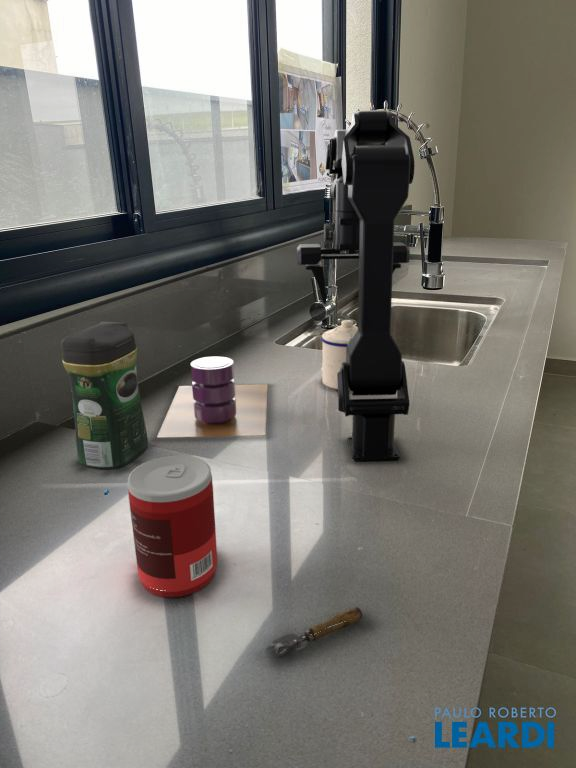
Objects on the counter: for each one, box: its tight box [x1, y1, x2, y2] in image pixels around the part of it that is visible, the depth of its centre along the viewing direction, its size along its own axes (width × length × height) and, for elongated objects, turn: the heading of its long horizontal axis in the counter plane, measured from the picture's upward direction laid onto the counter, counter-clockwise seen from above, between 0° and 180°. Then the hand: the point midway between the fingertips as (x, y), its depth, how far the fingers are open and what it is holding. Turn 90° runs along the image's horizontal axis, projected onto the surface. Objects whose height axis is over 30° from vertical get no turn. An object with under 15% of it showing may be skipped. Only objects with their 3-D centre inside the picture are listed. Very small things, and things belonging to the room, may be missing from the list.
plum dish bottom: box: [193, 397, 236, 424], centre depth 95 cm, size 7×7×3 cm
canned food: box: [127, 454, 218, 598], centre depth 58 cm, size 8×8×11 cm
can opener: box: [265, 606, 363, 657], centre depth 51 cm, size 9×2×1 cm, turn 114°
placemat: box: [156, 383, 269, 439], centre depth 99 cm, size 22×16×1 cm
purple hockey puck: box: [189, 355, 236, 386], centre depth 93 cm, size 7×7×3 cm
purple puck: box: [191, 378, 236, 405], centre depth 94 cm, size 7×7×3 cm
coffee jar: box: [60, 321, 149, 470], centre depth 81 cm, size 10×8×19 cm
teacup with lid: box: [320, 319, 358, 392], centre depth 109 cm, size 12×9×12 cm
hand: (350, 303), depth 106 cm, fingers open, 9 cm apart
